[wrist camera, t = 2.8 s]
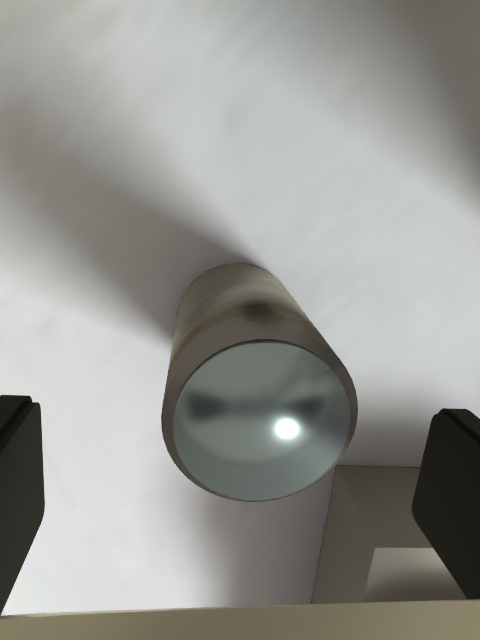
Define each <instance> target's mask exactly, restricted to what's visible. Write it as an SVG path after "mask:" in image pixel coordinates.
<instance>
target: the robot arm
mask: <svg viewBox="0 0 480 640" xmlns="http://www.w3.org/2000/svg"><path fill="white" fill-rule="evenodd" d="M44 507H45V500H44V476H43V453H42V429H41V408H40V404H39V403H35V402H32V399H31V397H30V396H18V395H1V396H0V615H1V613H2V611H3V608H4V606H5V604H6V602H7V599H8V597H9V595H10V593H11V590H12V588H13V586H14V583H15V581H16V579H17V577H18V574H19V572H20V570H21V568H22V565H23V563H24V561H25V558H26V556H27V554H28V552H29V549H30V547H31V545H32V543H33V540H34V538H35V536H36V533H37V531H38V529H39V527H40V524H41V522H42V519H43V515H44ZM412 515H413V518H414V520H415V522H416V523H417V525H418V526H419V528H420V529H421V531H422V532H423V534H424V535H425V537H426V538H427V540H428V541H429V543H430V544H431V546H432V547H433V549H434V550H435V552H436V553H437V554H438V556H439V557H440V559H441V560H442V562H443V563H444V565H445V566H446V568H447V569H448V571H449V572H450V574H451V575H452V577H453V578H454V580H455V581H456V583H457V584H458V586H459V587H460V589H461V590H462V592H463V593H464V595H465V596H466V598H467V599H468V600H436V601H402V602H368V603H334V604H301V605H268V606H235V607H202V608H174V609H146V610H118V611H90V612H62V613H36V614H21V615H7V616H0V640H480V419H479V418H478V417H477V416H475V415H474V414H473V413H472V412H470V411H469V410H467V409H445V408H443V409H442V410H440V412H439V413H438V414H436V415H434V416H433V418H432V421H431V425H430V429H429V434H428V438H427V442H426V446H425V450H424V455H423V459H422V463H421V467H420V472H419V476H418V480H417V484H416V489H415V493H414V497H413V501H412Z"/></svg>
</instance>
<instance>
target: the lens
mask: <svg viewBox="0 0 480 640" xmlns="http://www.w3.org/2000/svg"><path fill="white" fill-rule="evenodd" d="M357 414H358V406H357V396H356V390H355V387H354V384H353V381H352V379H351V377H350V375H349V373H348V371H347V369H346V367H345V366H344V365H343V363H342V362H341V360H340V359H339V358H338V356H337V355H336V354H335V352H334V351H333V350H332V349H331V347H330V346H329V345H328V343H327V342H326V341H325V339H324V338H323V337H322V335H321V334H320V333H319V331H318V330H317V329H316V328H315V326H314V325H313V324H312V322H311V321H310V320H309V318H308V317H307V316H306V314H305V313H304V312H303V310H302V309H301V308H300V307H299V305H298V304H297V303H296V301H295V300H294V299H293V297H292V296H291V295H290V293H289V292H288V291H287V289H286V288H285V287H284V286H283V284H282V283H281V282H280V281H279V280H278V279H277V278H276V277H275V276H273V275H272V274H271V273H269V272H267V271H266V270H264V269H261V268H259V267H256V266H252V265H248V264H227V265H222V266H218V267H216V268H213V269H211V270H209V271H207V272H205V273H204V274H202V275H201V276H200V277H198V278H197V279H196V280H195V281H194V282H193V283H192V284H191V285H190V287H189V288H188V289H187V291H186V292H185V294H184V296H183V298H182V300H181V303H180V306H179V310H178V315H177V321H176V327H175V333H174V339H173V346H172V352H171V358H170V364H169V370H168V376H167V382H166V388H165V394H164V400H163V407H162V415H161V422H162V433H163V438H164V442H165V444H166V447H167V450H168V452H169V454H170V456H171V458H172V460H173V461H174V463H175V464H176V465H177V467H178V468H179V470H180V471H181V472H182V473H183V474H184V475H185V476H186V477H187V478H188V479H190V480H191V481H192V482H193V483H195V484H196V485H198V486H199V487H201V488H203V489H204V490H206V491H208V492H210V493H213V494H215V495H217V496H220V497H224V498H227V499H232V500H237V501H247V502H259V501H269V500H276V499H280V498H283V497H287V496H290V495H292V494H295V493H298V492H300V491H302V490H304V489H306V488H308V487H310V486H311V485H313V484H314V483H316V482H317V481H319V480H320V479H321V478H323V477H324V476H325V475H326V474H327V473H328V472H329V471H330V470H331V469H332V468H333V467H334V466H335V465H336V464H337V463H338V461H339V460H340V459H341V457H342V456H343V455H344V453H345V451H346V450H347V448H348V446H349V444H350V442H351V439H352V437H353V434H354V430H355V427H356V422H357Z"/></svg>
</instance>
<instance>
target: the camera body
mask: <svg viewBox="0 0 480 640" xmlns="http://www.w3.org/2000/svg"><path fill="white" fill-rule="evenodd" d="M419 472H420V468H408V467H369V466H336V471H335V476H334V482H333V487H332V493H331V498H330V504H329V509H328V514H327V520H326V525H325V531H324V536H323V542H322V547H321V552H320V558H319V563H318V569H317V574H316V580H315V585H314V591H313V596H312V601H311V604H334V603H368V602H402V601H436V600H468V599H467V598H466V596H465V595H464V593H463V592H462V590H461V589H460V587H459V586H458V584H457V583H456V581H455V580H454V578H453V577H452V575H451V574H450V572H449V571H448V569H447V568H446V566H445V565H444V563H443V562H442V560H441V559H440V557H439V556H438V554H437V553H436V552H435V550H434V549H433V547H432V546H431V544H430V543H429V541H428V540H427V538H426V537H425V535H424V534H423V532H422V531H421V529H420V528H419V526H418V525H417V523H416V522H415V520H414V518H413V515H412V501H413V497H414V493H415V489H416V484H417V480H418V476H419Z"/></svg>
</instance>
